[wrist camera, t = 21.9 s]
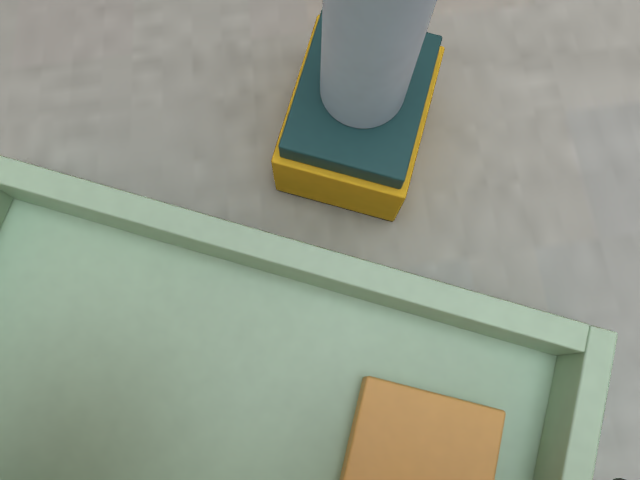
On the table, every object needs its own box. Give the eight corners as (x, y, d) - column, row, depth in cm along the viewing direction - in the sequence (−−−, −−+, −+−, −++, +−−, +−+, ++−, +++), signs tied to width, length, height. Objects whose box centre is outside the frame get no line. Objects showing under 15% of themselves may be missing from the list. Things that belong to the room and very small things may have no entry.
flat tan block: (330, 515, 17) (332, 525, 16) (362, 375, 18) (366, 374, 17) (469, 552, 17) (480, 564, 16) (494, 409, 18) (507, 411, 17)
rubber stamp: (393, 222, 20) (574, -131, 6) (275, 189, 20) (202, -221, 6) (429, 87, 21) (648, -462, 7) (317, 57, 21) (329, -529, 8)
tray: (-130, 490, 18) (-199, 507, 15) (7, 174, 20) (-34, 145, 18) (512, 695, 17) (547, 748, 14) (579, 339, 19) (619, 332, 17)
